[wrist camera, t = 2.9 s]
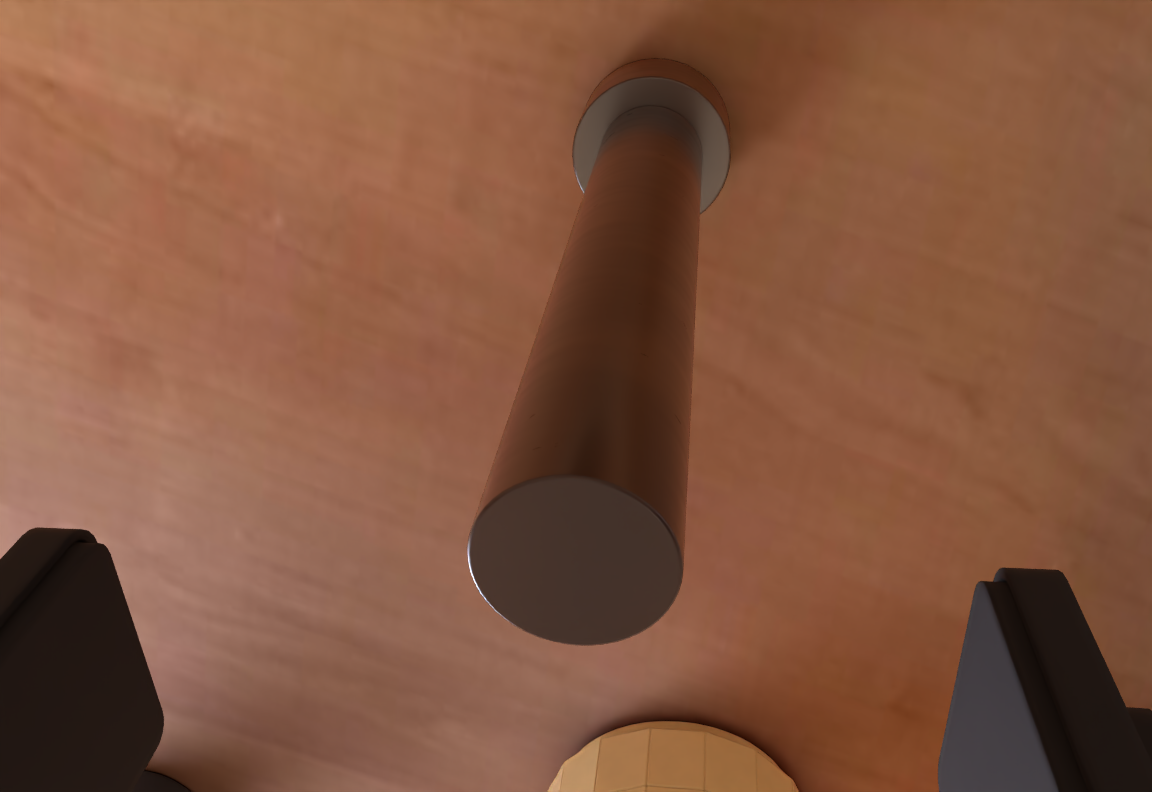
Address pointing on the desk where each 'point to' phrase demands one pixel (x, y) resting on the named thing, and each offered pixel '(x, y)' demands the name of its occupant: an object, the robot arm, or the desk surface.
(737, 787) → the bowl
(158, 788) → the drinking cup
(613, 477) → the stirrer
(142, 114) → the desk surface
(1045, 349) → the desk surface
